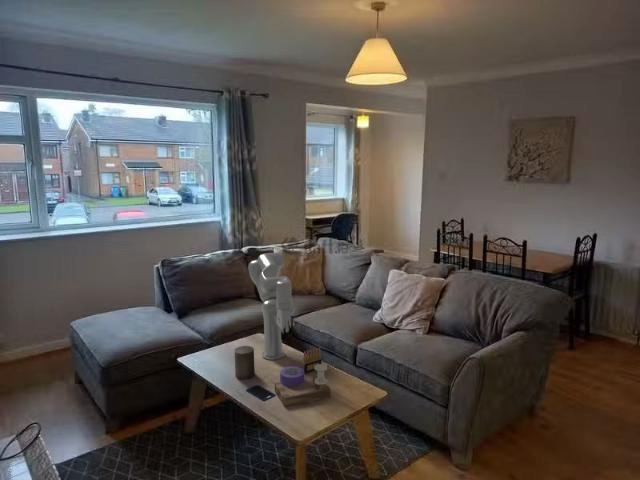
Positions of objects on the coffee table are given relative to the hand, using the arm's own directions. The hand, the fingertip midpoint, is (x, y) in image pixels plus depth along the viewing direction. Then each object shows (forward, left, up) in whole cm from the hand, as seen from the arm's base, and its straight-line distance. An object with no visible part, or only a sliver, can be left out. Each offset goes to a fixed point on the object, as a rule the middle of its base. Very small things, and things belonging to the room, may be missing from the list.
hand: (284, 339), depth 233 cm
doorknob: (+25, +10, -13) cm, 30 cm away
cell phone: (+17, -17, -17) cm, 30 cm away
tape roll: (+11, 0, -17) cm, 21 cm away
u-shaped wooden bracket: (+25, 0, -17) cm, 30 cm away
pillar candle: (-3, -20, -17) cm, 26 cm away
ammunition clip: (+5, +13, -17) cm, 22 cm away
